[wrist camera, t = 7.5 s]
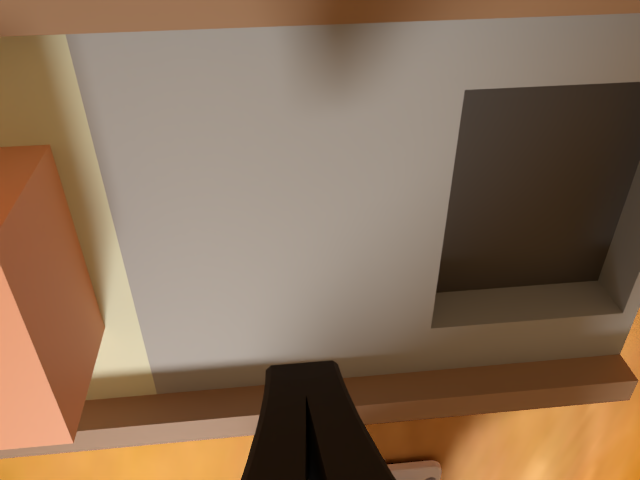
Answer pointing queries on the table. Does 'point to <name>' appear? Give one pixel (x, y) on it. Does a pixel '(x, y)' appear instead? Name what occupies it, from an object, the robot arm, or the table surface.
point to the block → (42, 305)
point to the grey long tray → (339, 200)
